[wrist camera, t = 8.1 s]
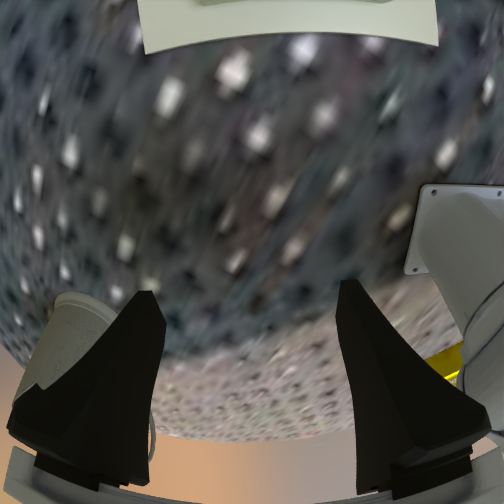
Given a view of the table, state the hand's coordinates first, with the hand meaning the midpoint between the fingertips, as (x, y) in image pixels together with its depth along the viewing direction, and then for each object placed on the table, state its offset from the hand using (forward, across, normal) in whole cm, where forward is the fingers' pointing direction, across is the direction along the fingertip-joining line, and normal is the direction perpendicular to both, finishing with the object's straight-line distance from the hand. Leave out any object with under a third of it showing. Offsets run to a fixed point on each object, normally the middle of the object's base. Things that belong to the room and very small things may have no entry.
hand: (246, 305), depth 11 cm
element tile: (+10, -27, +29) cm, 41 cm away
